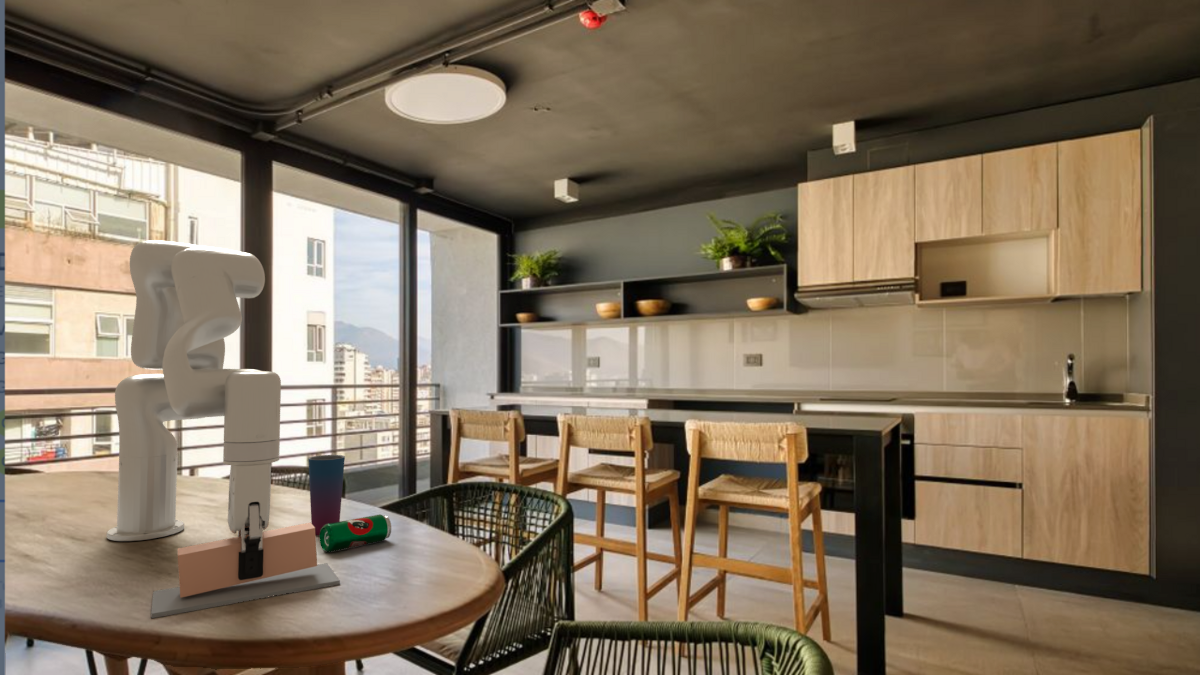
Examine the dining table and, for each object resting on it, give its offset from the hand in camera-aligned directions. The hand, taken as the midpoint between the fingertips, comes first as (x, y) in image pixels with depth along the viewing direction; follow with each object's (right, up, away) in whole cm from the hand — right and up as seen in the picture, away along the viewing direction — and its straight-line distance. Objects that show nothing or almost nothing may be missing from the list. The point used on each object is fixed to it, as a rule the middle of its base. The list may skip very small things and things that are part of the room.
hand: (249, 572), depth 97 cm
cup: (-2, -4, +32) cm, 32 cm away
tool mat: (0, -3, 0) cm, 3 cm away
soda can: (+3, -1, +18) cm, 18 cm away
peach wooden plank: (0, -1, 0) cm, 1 cm away
